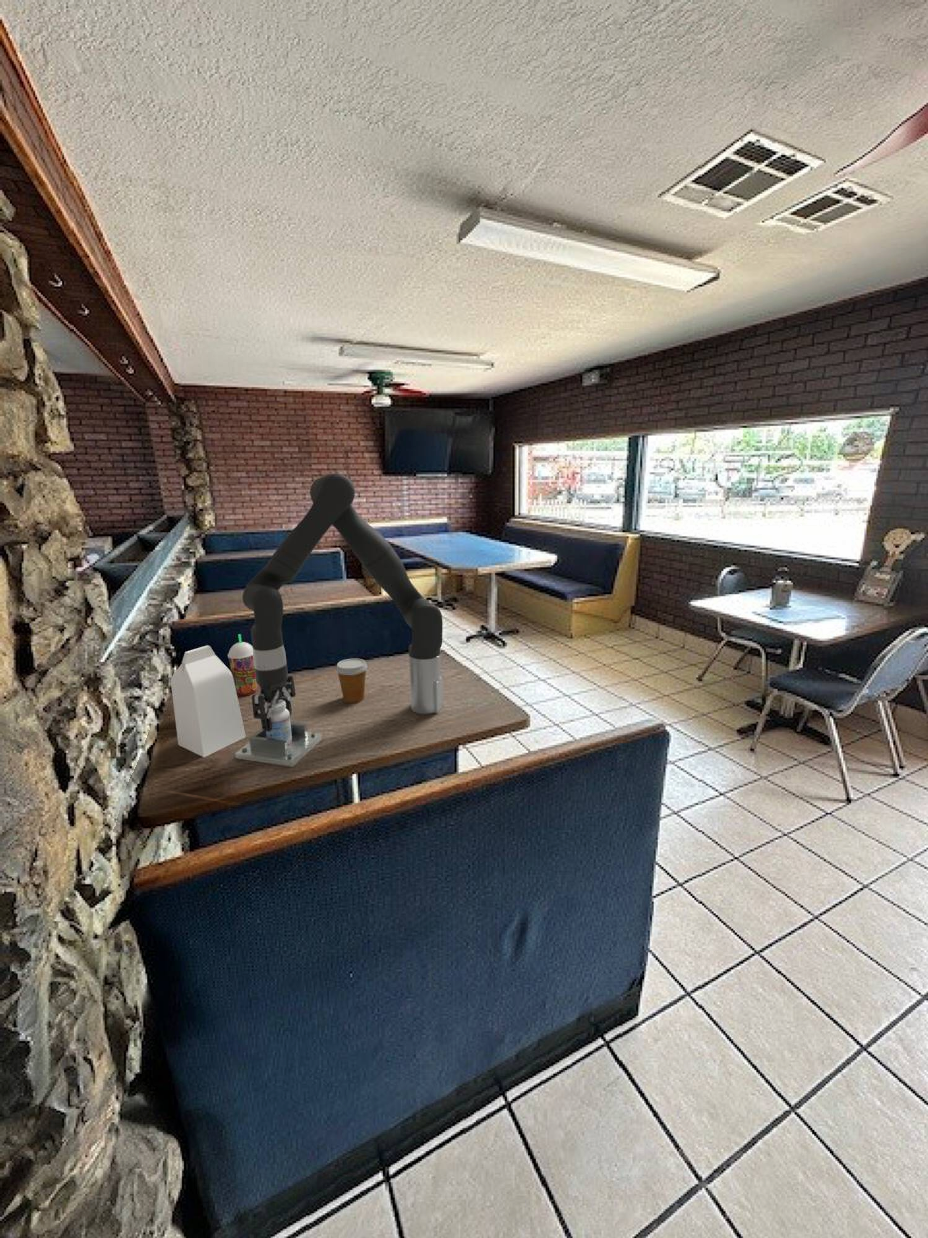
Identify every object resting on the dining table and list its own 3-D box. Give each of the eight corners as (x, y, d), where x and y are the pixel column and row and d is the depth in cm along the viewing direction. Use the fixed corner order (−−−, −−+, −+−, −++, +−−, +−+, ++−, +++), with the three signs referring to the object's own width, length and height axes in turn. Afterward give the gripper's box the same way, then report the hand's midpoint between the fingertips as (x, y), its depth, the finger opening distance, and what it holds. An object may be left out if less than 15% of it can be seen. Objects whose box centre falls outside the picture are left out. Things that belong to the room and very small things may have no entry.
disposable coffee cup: (365, 705, 156) (363, 669, 152) (335, 705, 156) (331, 669, 153) (372, 692, 165) (369, 657, 162) (342, 692, 165) (340, 657, 162)
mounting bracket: (322, 738, 136) (320, 721, 135) (292, 766, 123) (290, 748, 122) (269, 731, 140) (267, 715, 139) (236, 758, 127) (233, 740, 126)
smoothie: (234, 700, 160) (225, 640, 155) (232, 690, 167) (224, 632, 162) (262, 695, 164) (255, 635, 158) (259, 685, 171) (252, 629, 165)
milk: (204, 757, 128) (187, 660, 121) (178, 745, 134) (161, 652, 127) (245, 736, 138) (233, 646, 131) (220, 726, 144) (206, 639, 136)
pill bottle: (262, 746, 130) (257, 706, 127) (278, 735, 135) (274, 696, 132) (281, 750, 128) (276, 710, 125) (297, 739, 133) (293, 700, 130)
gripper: (266, 675, 118) (274, 738, 122) (299, 654, 131) (306, 712, 136) (238, 672, 120) (247, 734, 124) (274, 652, 133) (281, 709, 137)
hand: (277, 722), depth 130 cm, fingers open, 8 cm apart
